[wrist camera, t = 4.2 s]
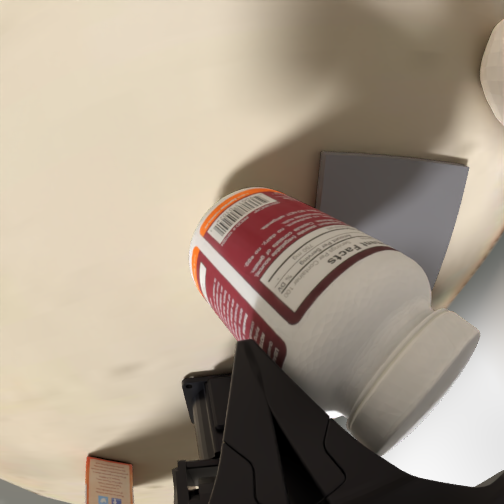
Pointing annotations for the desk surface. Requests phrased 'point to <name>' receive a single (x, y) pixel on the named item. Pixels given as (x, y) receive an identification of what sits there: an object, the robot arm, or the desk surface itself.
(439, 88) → the desk surface
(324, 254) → the pill bottle
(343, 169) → the mat
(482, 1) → the desk surface
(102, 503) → the cracker box
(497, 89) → the cat figurine
